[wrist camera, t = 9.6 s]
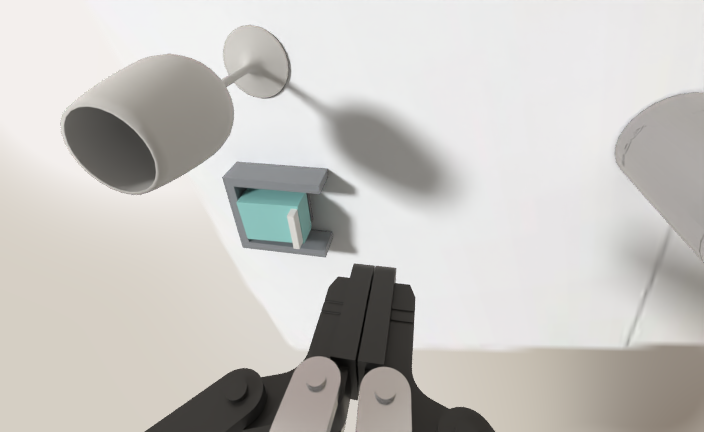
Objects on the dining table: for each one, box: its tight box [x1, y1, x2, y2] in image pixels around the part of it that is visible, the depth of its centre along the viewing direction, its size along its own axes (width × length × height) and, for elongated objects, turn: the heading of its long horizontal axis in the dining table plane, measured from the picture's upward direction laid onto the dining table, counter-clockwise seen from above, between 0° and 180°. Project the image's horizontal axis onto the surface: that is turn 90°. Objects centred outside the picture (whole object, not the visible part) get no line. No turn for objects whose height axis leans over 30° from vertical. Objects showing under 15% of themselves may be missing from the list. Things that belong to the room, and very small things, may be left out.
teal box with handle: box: [236, 188, 313, 249], centre depth 44 cm, size 8×6×6 cm
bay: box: [222, 162, 332, 257], centre depth 45 cm, size 12×12×4 cm
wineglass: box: [60, 25, 289, 195], centre depth 28 cm, size 8×8×21 cm
